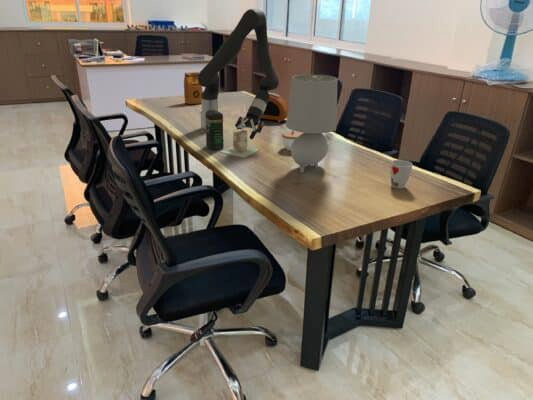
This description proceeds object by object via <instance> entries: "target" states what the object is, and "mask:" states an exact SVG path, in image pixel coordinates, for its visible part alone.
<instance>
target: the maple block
mask: <svg viewBox="0 0 533 400" xmlns="http://www.w3.org/2000/svg"><path fill="white" fill-rule="evenodd" d="M232 147H233V151H235V152H239V153H243V152H245V151H247V147H248V130H245V129H242V130H241V129H238V130H237V129H236V130H234V131H232Z"/></svg>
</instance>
